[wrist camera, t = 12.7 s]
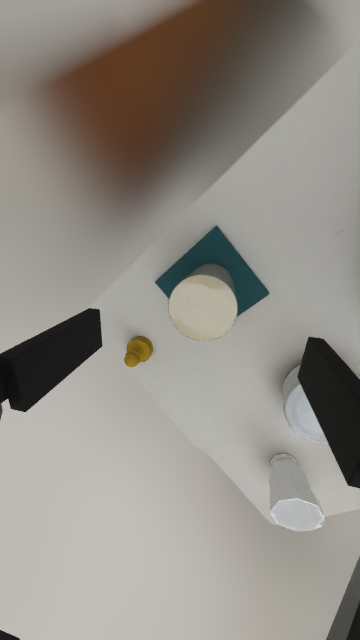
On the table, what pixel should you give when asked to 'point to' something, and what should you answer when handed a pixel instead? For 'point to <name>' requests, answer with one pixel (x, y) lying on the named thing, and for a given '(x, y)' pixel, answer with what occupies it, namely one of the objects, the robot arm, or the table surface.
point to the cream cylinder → (204, 303)
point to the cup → (292, 496)
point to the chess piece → (138, 351)
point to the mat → (220, 253)
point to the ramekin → (301, 409)
